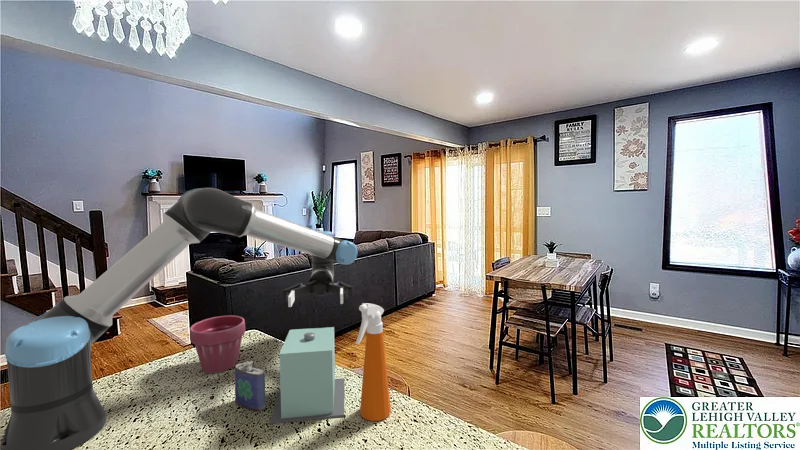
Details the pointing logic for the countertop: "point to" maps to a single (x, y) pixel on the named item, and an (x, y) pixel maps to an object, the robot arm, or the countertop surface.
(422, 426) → the countertop surface
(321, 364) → the box
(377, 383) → the spray bottle
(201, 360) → the plant pot
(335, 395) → the rubber mat
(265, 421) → the countertop surface
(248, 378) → the flask
